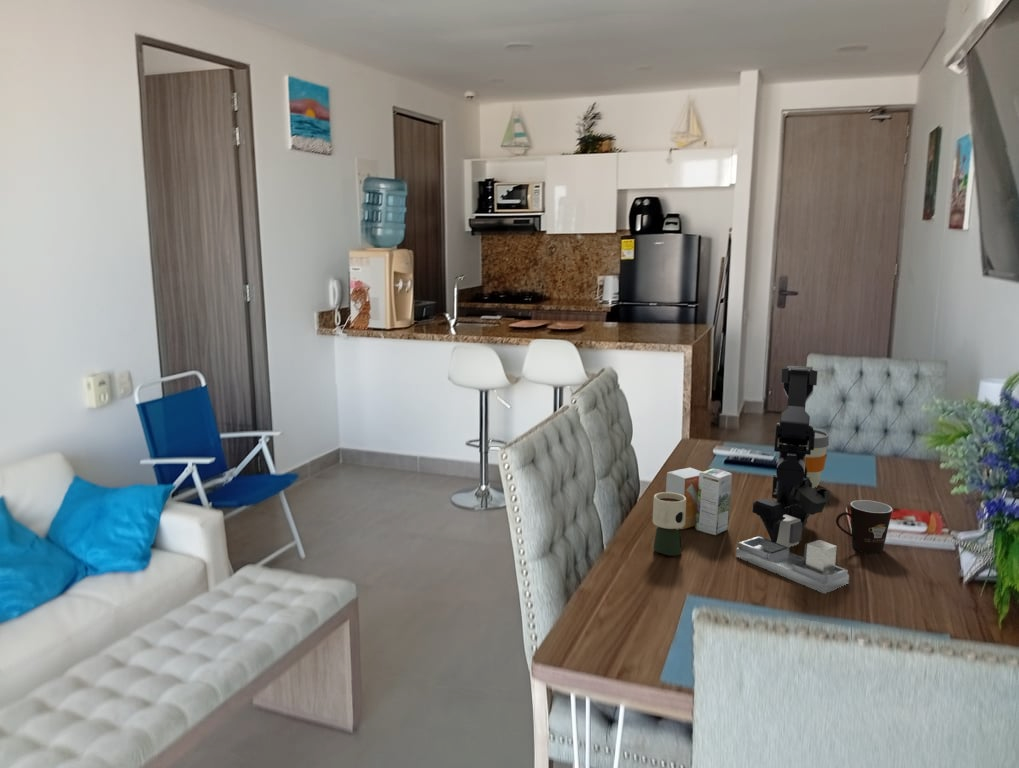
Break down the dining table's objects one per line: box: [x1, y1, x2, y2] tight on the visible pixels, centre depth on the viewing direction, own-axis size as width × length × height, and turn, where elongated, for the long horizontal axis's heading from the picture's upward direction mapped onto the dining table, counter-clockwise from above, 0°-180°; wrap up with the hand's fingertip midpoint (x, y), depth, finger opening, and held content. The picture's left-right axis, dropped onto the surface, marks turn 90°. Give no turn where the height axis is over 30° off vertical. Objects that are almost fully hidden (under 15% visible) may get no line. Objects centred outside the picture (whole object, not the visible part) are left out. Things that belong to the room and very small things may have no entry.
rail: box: [735, 536, 850, 595], centre depth 164 cm, size 8×22×8 cm, turn 34°
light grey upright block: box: [776, 514, 803, 548], centre depth 179 cm, size 4×5×6 cm
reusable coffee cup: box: [784, 428, 830, 489], centre depth 223 cm, size 13×13×15 cm
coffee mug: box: [835, 499, 893, 554], centre depth 177 cm, size 12×9×10 cm
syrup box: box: [694, 468, 733, 536], centre depth 186 cm, size 6×6×14 cm
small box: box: [665, 466, 703, 530], centre depth 191 cm, size 8×6×13 cm
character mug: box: [652, 491, 686, 557], centre depth 173 cm, size 11×7×13 cm, turn 152°
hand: (786, 538), depth 180 cm, fingers open, 8 cm apart
